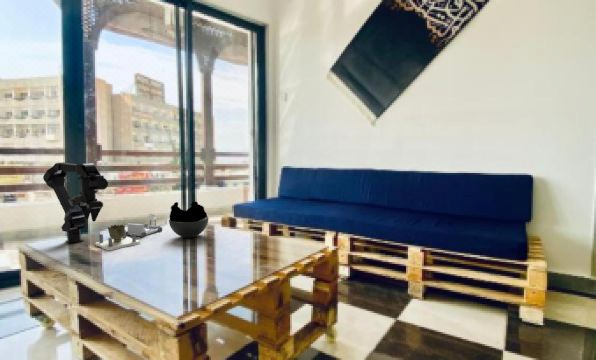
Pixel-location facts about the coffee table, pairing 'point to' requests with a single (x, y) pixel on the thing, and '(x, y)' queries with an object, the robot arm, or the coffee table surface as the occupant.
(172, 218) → the coal bowl
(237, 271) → the coffee table surface
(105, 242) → the peg stand
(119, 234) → the dark brown ornate lampshade
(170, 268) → the coffee table surface
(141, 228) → the toy car
